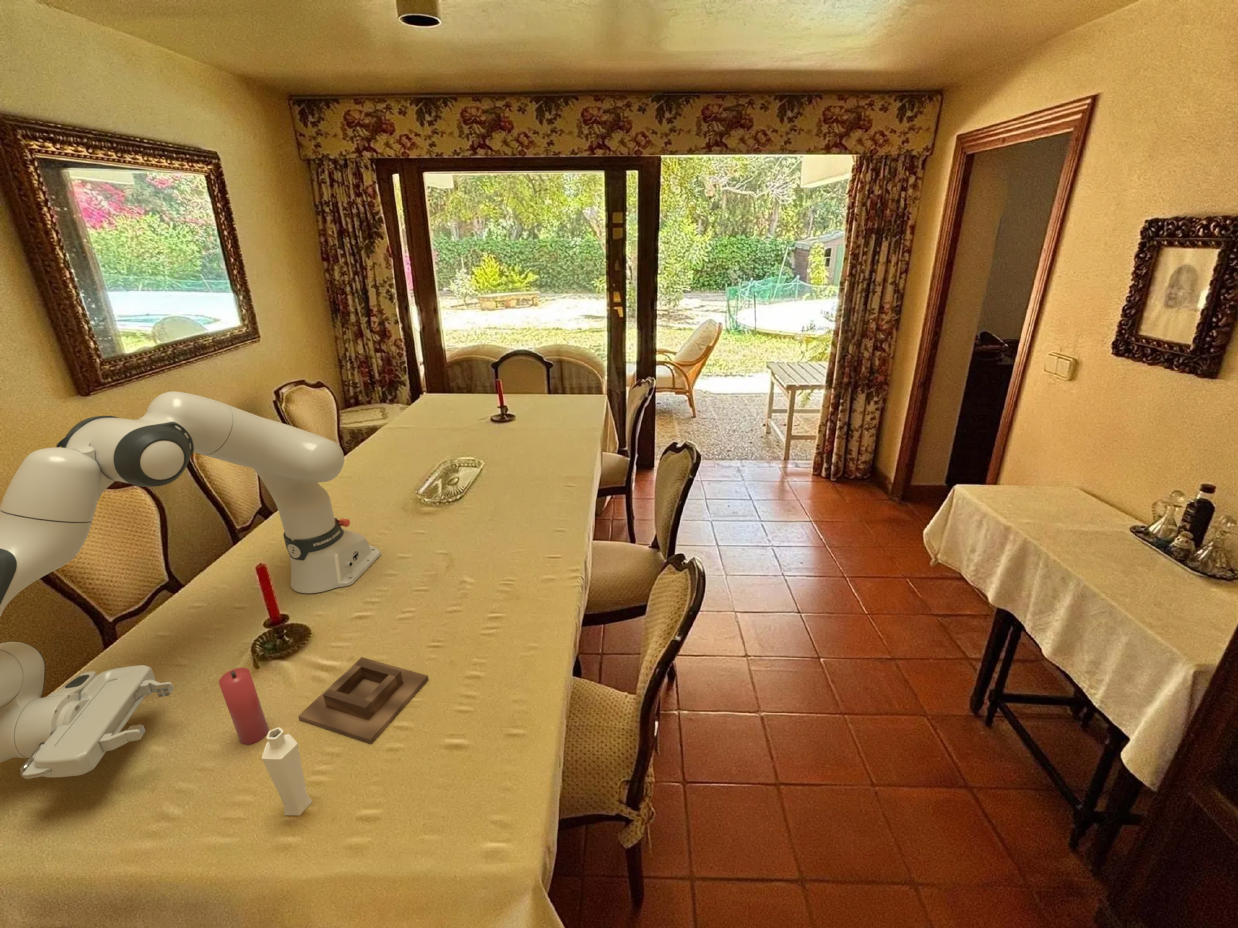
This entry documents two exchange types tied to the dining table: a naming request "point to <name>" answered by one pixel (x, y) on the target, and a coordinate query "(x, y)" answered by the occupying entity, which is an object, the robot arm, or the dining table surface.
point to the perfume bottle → (286, 771)
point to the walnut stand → (364, 699)
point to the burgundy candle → (244, 705)
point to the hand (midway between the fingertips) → (157, 708)
